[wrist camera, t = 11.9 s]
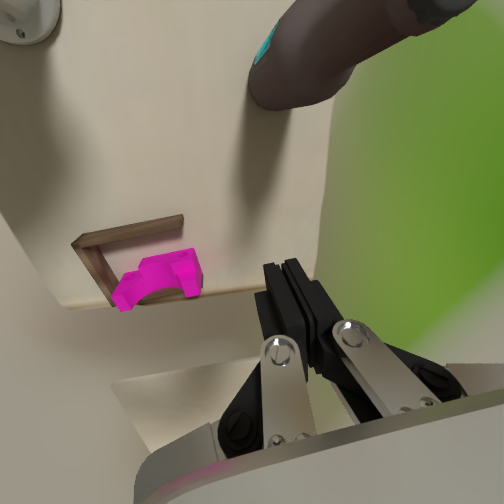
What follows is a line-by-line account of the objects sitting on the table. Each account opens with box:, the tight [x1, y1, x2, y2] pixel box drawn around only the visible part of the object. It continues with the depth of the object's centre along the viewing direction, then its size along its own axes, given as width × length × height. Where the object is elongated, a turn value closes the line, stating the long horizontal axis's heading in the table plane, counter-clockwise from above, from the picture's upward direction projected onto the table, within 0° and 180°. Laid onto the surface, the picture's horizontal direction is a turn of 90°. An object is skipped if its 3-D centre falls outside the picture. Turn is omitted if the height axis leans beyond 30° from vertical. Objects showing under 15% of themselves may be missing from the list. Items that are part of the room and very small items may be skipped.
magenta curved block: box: [111, 248, 202, 312], centre depth 43 cm, size 15×6×8 cm, turn 99°
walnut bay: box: [71, 214, 203, 307], centre depth 43 cm, size 15×18×4 cm
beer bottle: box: [249, 0, 477, 111], centre depth 20 cm, size 8×8×30 cm
